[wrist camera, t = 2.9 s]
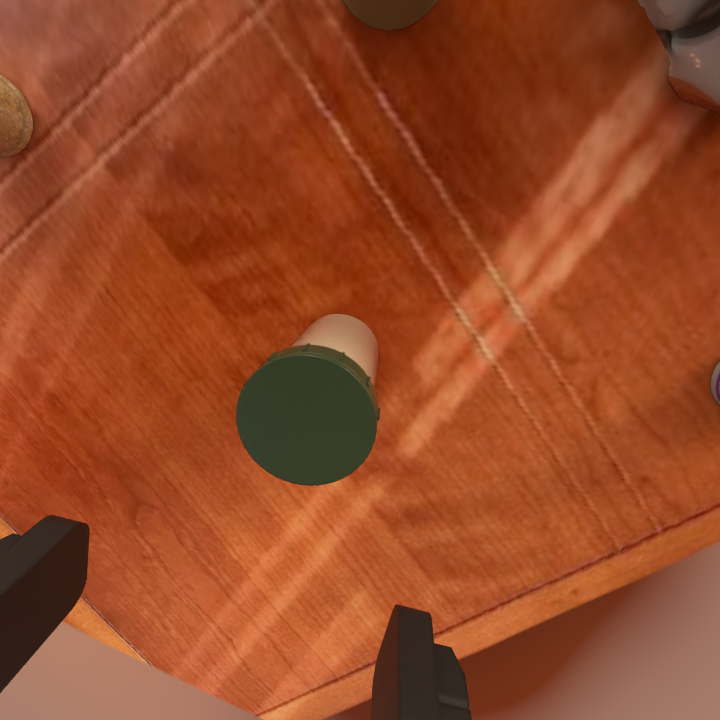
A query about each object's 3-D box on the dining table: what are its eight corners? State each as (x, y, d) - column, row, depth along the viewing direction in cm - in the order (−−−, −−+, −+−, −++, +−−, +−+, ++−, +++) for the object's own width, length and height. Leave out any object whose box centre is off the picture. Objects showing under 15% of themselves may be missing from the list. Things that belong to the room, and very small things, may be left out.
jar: (293, 379, 29) (239, 455, 19) (308, 304, 28) (258, 346, 18) (368, 398, 29) (353, 485, 19) (387, 324, 28) (382, 377, 18)
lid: (240, 447, 21) (226, 466, 19) (260, 329, 19) (248, 338, 17) (361, 479, 21) (357, 500, 19) (393, 363, 19) (392, 375, 17)
